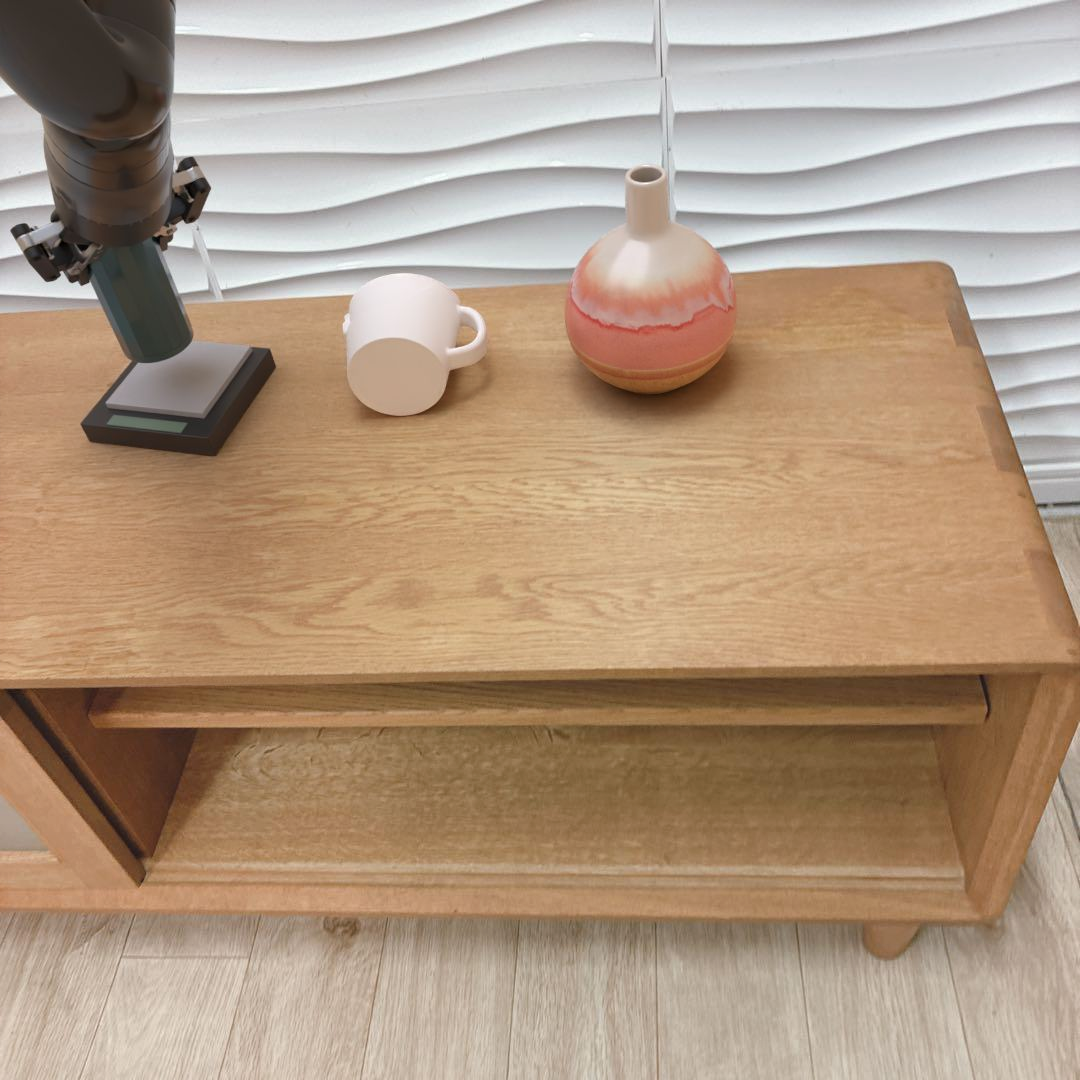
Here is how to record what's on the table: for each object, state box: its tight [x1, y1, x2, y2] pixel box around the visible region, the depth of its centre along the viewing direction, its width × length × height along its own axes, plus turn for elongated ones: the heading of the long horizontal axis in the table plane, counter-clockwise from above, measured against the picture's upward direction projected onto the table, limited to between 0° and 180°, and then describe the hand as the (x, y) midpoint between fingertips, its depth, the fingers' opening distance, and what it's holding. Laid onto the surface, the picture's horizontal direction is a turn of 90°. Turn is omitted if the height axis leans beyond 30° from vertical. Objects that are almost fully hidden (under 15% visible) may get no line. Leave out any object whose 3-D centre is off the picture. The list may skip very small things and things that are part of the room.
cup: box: [87, 236, 195, 363], centre depth 85 cm, size 6×6×11 cm
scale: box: [80, 339, 277, 457], centre depth 92 cm, size 12×12×3 cm
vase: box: [564, 163, 738, 395], centre depth 84 cm, size 14×14×18 cm
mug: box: [342, 272, 489, 417], centre depth 89 cm, size 12×9×8 cm
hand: (117, 256), depth 84 cm, fingers closed on cup, 6 cm apart
